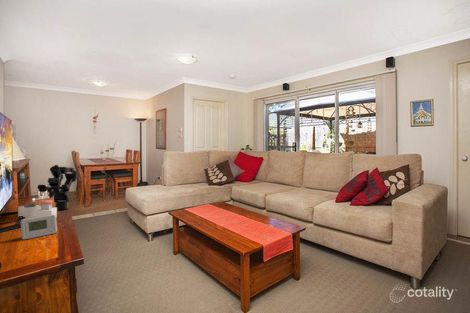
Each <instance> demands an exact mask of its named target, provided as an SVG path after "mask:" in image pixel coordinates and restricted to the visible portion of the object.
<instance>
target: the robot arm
mask: <svg viewBox="0 0 470 313" xmlns="http://www.w3.org/2000/svg"><path fill="white" fill-rule="evenodd" d="M49 171H50V173H51V175H52V176H53V177H48V179H47V183H48V185H47V186H46V184H45V183H43V184H41V183H40V184H38V185H37V188H36V189H38V191H39V192H40V193H45V192H48V197H49V199H52V198H53V201H54V202H53V203H54V204H55V207H57V212H58V211H59V212H60V211H61V212H62V211H66V210H69V208H67V207H68V203H69V201H70V198H69V195H68V193H69V192H70V189H71V186H72V184H73V183H75V182H76V181H77V179H78V178H79V175H78V171H76V170H75V169H74V167H68V166H59V165H58V164H54V166H51V167H50V168H49ZM64 177H65V178H64ZM64 179H65V181H64V183H63V184H62V181H63V180H64Z"/></svg>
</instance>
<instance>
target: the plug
mask: <svg viewBox="0 0 470 313" xmlns="http://www.w3.org/2000/svg"><path fill="white" fill-rule="evenodd" d="M36 205H37V204H36V203H35V202H34V203H33V202H31V203H24V204H23V206H24V207H34V206H36Z"/></svg>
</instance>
